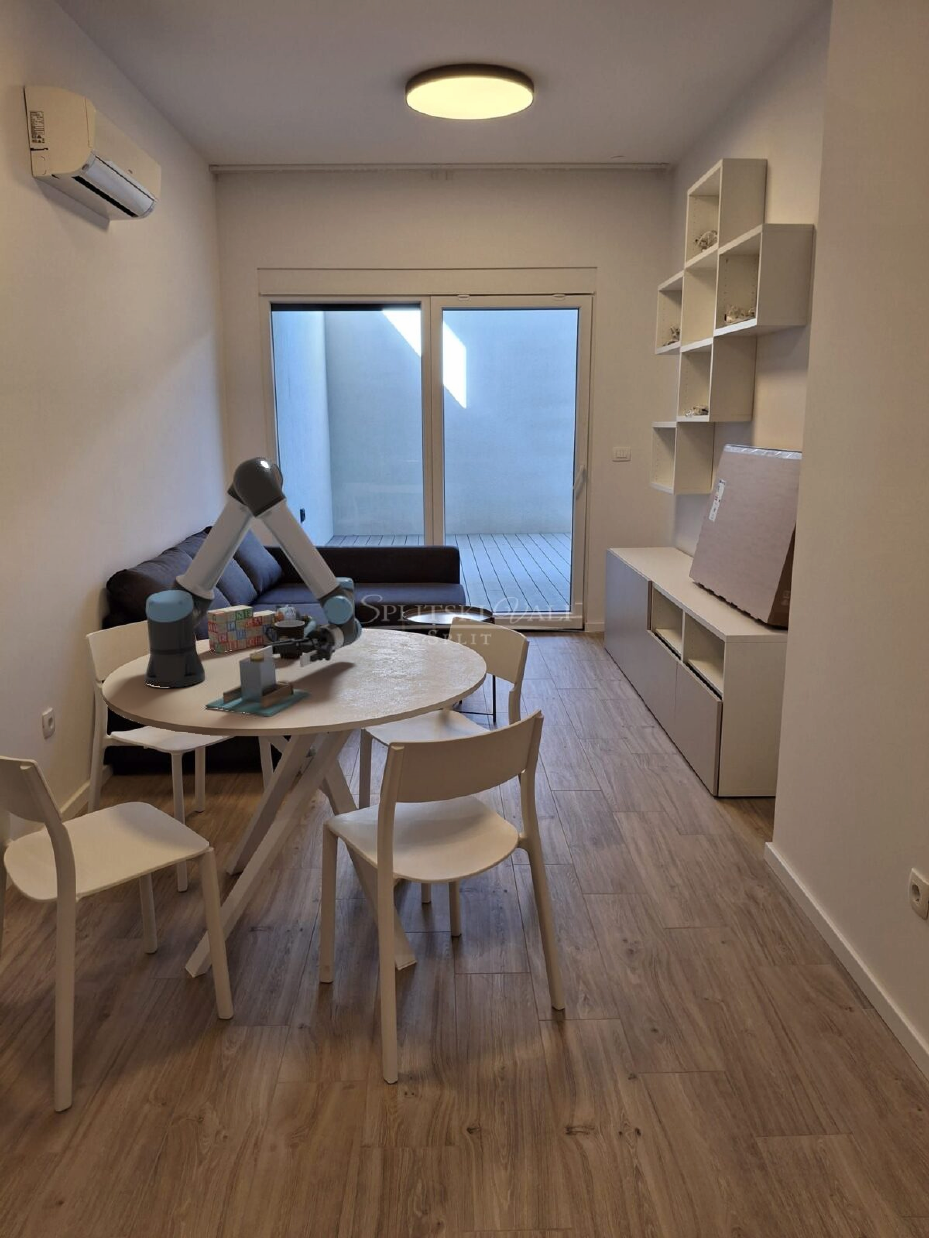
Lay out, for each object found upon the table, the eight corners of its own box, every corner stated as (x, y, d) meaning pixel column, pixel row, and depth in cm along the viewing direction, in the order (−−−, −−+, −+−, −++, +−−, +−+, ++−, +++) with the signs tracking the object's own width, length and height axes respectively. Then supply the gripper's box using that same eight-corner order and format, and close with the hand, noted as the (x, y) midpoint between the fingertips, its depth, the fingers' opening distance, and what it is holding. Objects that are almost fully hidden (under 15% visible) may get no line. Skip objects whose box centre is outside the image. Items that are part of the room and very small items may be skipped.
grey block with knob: (241, 700, 212) (238, 655, 210) (256, 693, 218) (253, 650, 215) (262, 703, 210) (259, 658, 208) (276, 696, 216) (274, 652, 213)
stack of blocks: (270, 638, 280) (268, 600, 277) (281, 641, 275) (278, 603, 273) (209, 650, 265) (206, 610, 262) (219, 653, 261) (216, 613, 258)
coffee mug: (312, 656, 257) (310, 623, 254) (288, 662, 250) (286, 628, 248) (288, 650, 264) (286, 617, 262) (264, 655, 258) (262, 622, 256)
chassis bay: (205, 708, 210) (204, 694, 209) (251, 687, 226) (250, 675, 225) (268, 716, 203) (267, 703, 202) (310, 695, 219) (310, 682, 218)
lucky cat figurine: (316, 647, 266) (292, 610, 261) (283, 660, 270) (259, 624, 264) (327, 623, 280) (305, 588, 274) (295, 636, 283) (273, 601, 277)
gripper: (364, 658, 235) (321, 678, 216) (286, 649, 245) (238, 668, 226) (363, 630, 234) (320, 649, 215) (284, 623, 243) (237, 640, 224)
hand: (278, 659), depth 220 cm, fingers open, 13 cm apart
